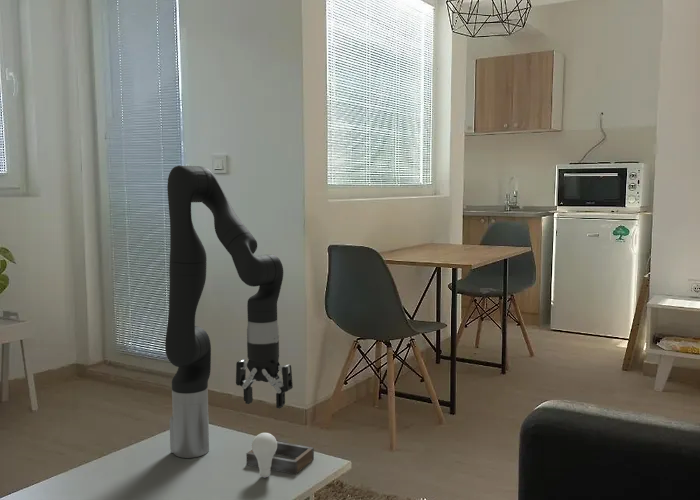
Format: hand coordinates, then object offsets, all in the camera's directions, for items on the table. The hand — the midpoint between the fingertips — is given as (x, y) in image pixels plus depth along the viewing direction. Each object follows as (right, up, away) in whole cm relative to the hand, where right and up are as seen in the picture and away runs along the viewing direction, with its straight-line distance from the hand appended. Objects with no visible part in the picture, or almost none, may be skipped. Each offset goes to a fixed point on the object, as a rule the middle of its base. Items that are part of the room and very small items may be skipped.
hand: (264, 405), depth 164 cm
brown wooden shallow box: (+3, -17, +11) cm, 20 cm away
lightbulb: (0, -18, +2) cm, 18 cm away
